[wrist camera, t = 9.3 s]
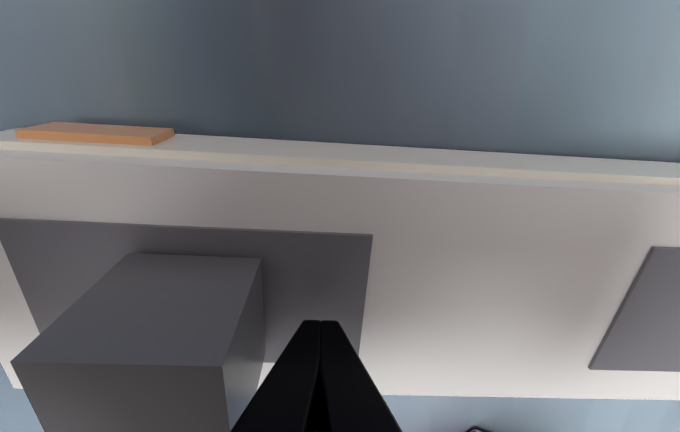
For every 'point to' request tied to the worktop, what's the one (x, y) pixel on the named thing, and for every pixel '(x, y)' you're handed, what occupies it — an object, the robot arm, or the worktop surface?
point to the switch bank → (369, 251)
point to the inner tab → (152, 348)
